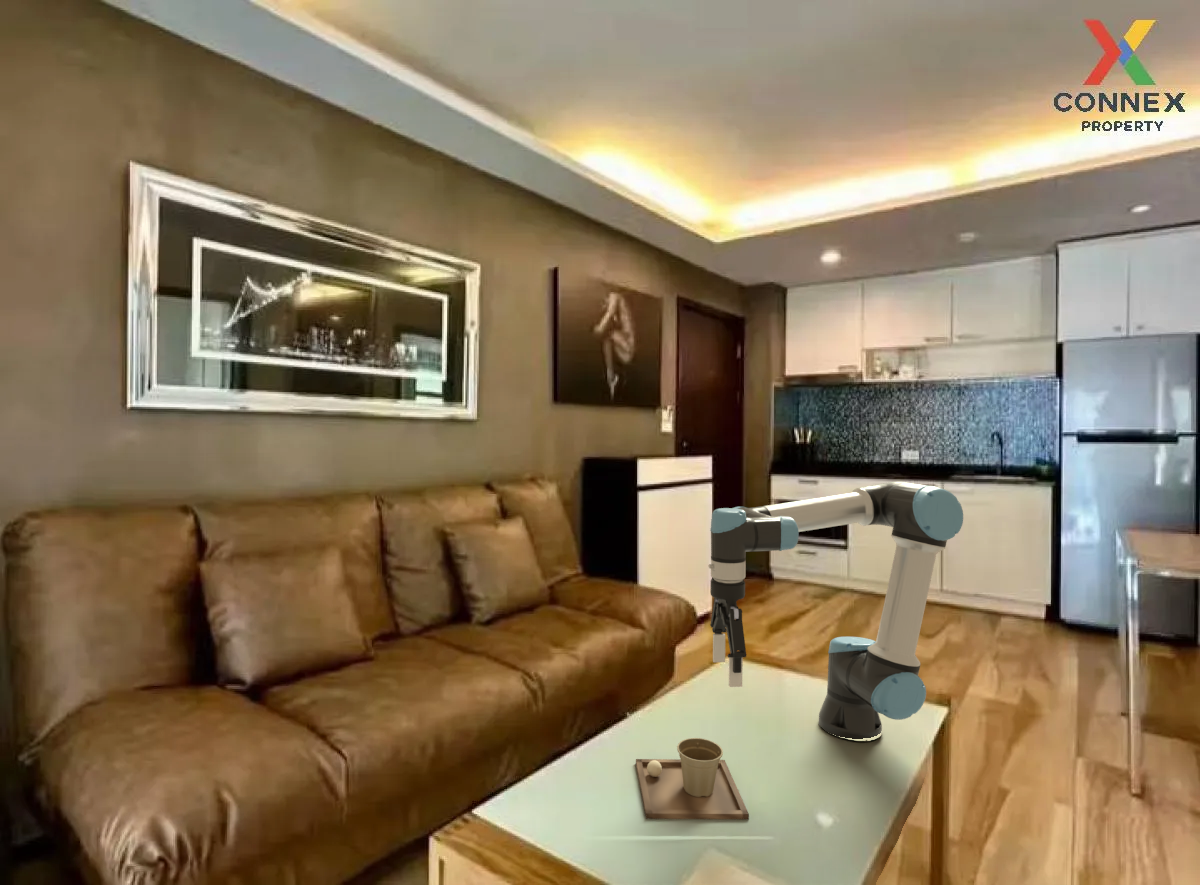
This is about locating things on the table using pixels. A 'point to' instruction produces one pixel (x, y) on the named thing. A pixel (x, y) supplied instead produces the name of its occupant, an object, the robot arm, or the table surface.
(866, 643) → the robot arm
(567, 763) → the table surface
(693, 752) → the flower pot
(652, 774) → the cream white ball
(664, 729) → the table surface
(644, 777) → the tray
